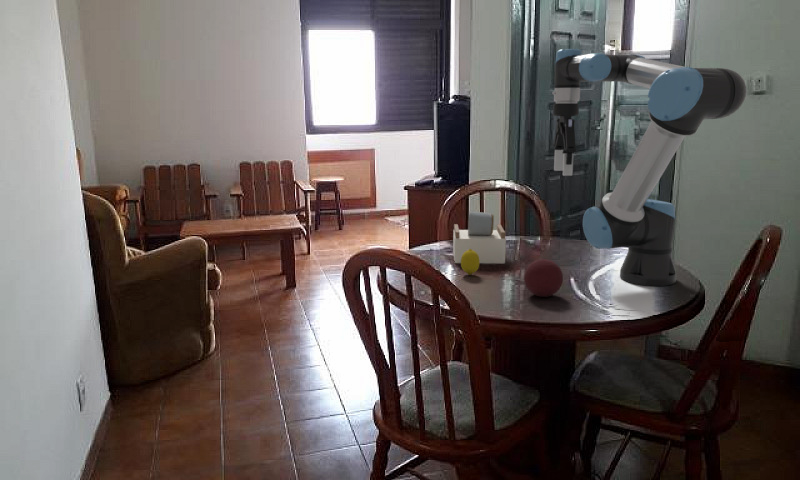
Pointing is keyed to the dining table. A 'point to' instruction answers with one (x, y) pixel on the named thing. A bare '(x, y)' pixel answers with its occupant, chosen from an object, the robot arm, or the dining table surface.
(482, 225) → the ceramic mug
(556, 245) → the dining table surface
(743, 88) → the robot arm
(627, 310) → the dining table surface
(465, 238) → the display stand
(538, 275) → the decorative ball
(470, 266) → the lemon
